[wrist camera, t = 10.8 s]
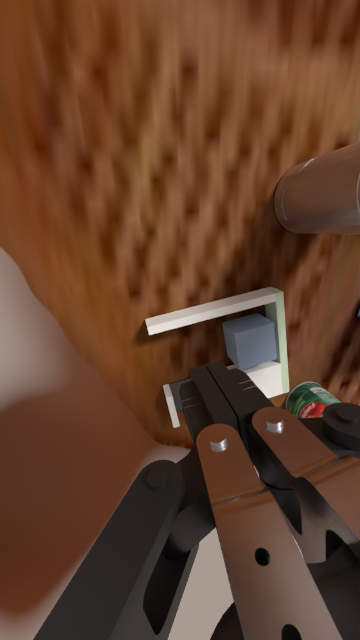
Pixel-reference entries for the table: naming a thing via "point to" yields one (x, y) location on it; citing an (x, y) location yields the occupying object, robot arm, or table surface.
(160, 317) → the white open shelf
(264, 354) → the block
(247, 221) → the table surface
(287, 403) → the canned tomato
